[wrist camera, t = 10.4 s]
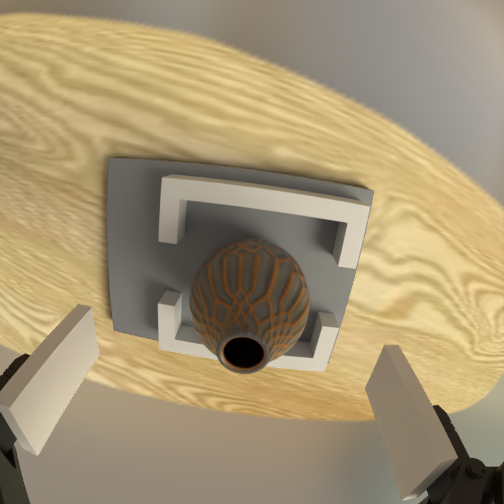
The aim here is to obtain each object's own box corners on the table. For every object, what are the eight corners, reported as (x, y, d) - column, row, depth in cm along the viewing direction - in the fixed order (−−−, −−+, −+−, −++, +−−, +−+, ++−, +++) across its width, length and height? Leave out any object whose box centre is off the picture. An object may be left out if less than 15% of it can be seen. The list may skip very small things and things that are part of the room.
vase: (192, 236, 21) (145, 296, 12) (295, 218, 20) (313, 270, 12) (216, 323, 23) (192, 410, 15) (308, 310, 22) (326, 396, 14)
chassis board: (119, 323, 25) (104, 343, 22) (116, 157, 20) (94, 160, 17) (325, 354, 25) (331, 379, 22) (368, 188, 20) (384, 196, 17)
